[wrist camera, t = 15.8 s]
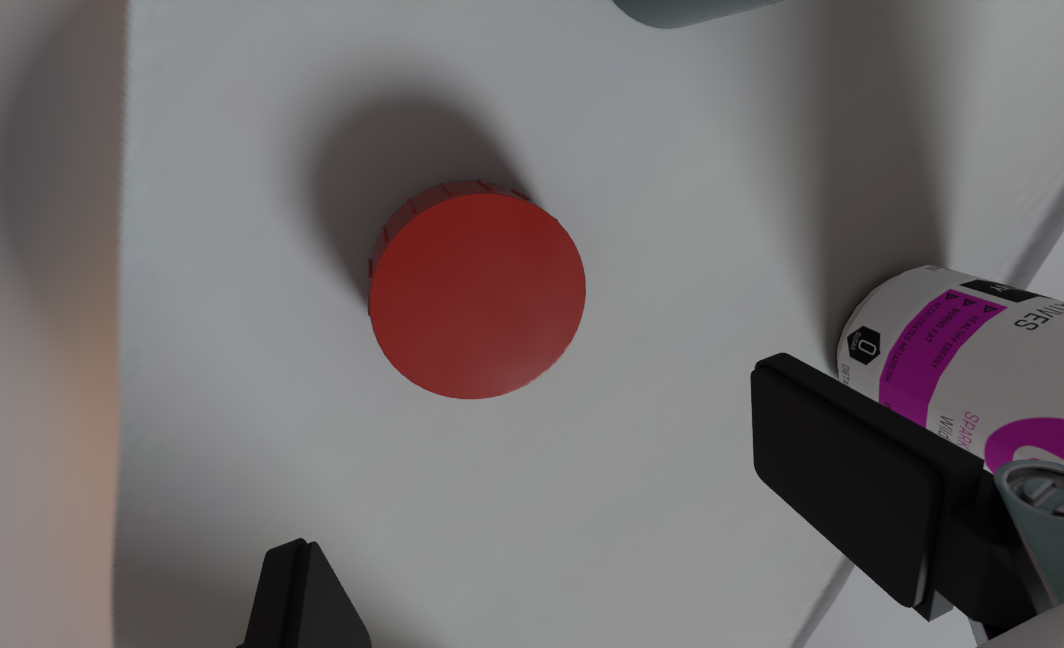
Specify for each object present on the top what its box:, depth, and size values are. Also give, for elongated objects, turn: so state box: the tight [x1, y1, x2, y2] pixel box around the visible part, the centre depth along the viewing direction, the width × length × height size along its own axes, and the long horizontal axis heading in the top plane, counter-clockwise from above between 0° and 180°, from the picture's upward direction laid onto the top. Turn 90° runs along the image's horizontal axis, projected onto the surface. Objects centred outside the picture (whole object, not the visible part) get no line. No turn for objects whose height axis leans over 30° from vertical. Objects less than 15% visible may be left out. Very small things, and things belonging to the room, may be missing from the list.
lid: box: [368, 180, 586, 399], centre depth 18 cm, size 8×8×3 cm
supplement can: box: [837, 265, 1064, 474], centre depth 21 cm, size 8×8×15 cm
